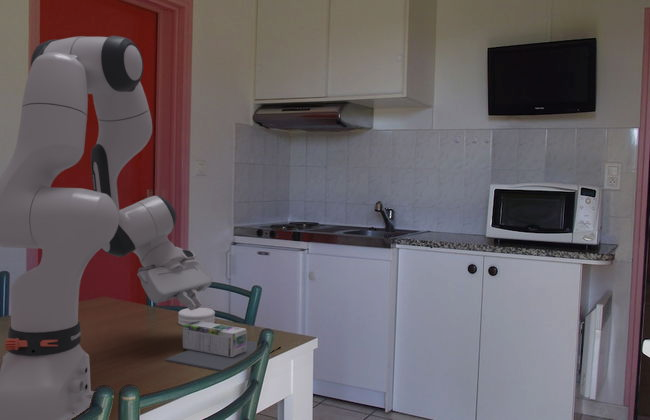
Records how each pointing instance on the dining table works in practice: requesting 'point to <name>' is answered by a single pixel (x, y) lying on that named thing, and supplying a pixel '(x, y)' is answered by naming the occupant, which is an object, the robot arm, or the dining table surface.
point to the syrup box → (214, 338)
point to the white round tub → (196, 315)
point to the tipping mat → (210, 358)
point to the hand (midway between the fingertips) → (196, 307)
